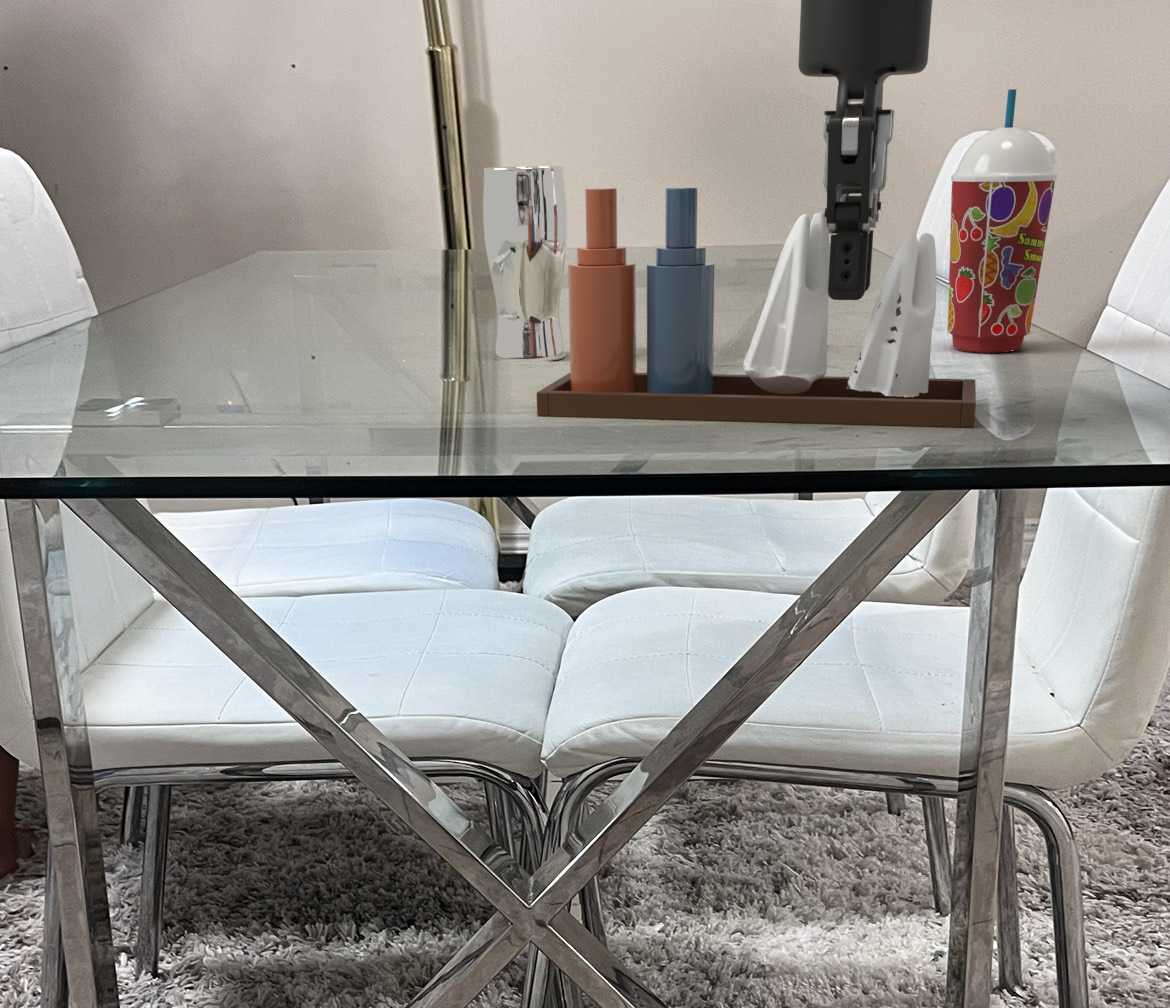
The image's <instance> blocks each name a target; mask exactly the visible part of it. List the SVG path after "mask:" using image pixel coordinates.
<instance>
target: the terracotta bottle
mask: <svg viewBox="0 0 1170 1008" xmlns="http://www.w3.org/2000/svg"><path fill="white" fill-rule="evenodd" d="M584 190H585V192H584V193H585V194H584V195H585V235H586V236H585V245H584V246H578V247H577V248H576V256H577V257H576V259H577V260H576V261H577V262H572V263H569V264H568V265H567V276H568V279H567V280H568V319H569V320H568V322H569V323H568V325H569V367H570V369H569V370H570V371H569V373H570V375H571V391H586V392H629V393H636V373H637V263H636V262H635V261H634V262H633V261H627V260H628V259H627V258H628V257H627V256H628V255H627V251H628V250H627V248H628V247H627V246H624V245H618V189H617V188H616V187H592V188H591V187H589V188H585V189H584Z"/></svg>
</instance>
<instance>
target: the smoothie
mask: <svg viewBox="0 0 1170 1008" xmlns="http://www.w3.org/2000/svg"><path fill="white" fill-rule="evenodd" d="M1016 97H1017V88H1012V89H1011V88H1010V89H1007V98H1006V99H1007V100H1006V107H1005V118H1004V127H998V128H995V129H993V130H990V131H988V132H986V133H984V134H983V135H981V136H980V137H978V138H977V139H976V140H974V142H972V144H971V145H970V146H969V147H968V148H967V150H966V151H965V153H964V154H963V155H962V157H961V160H960V161H959V163H958V166H957V168H956V171H955V172H954V173H953V174H951V175H950V181H951V191H950V192H951V198H950V203H951V204H950V229H949V230H950V232H949V233H950V235H949V236H950V237H949V271H948V305H947V306H948V307H947V333H948V334H950V335H952V336H951V337H952V347H953V348H954V349H956V350H957V351H961V352H965V353H966V352H967V353H978V354H979V353H980V354H1000V353H999V352H1004V353H1006V352H1005V351H1011V350H1017V349H1019V350H1021V349H1022V346H1023V342H1024V339H1025V337H1026V336H1027V335H1030V333H1031V327H1032V321H1033V314H1034V309H1035V304H1036V298H1037V292H1038V286H1039V279H1040V275H1041V267H1042V261H1043V257H1044V256H1043V255H1044V251H1045V244H1046V238H1047V233H1048V227H1049V221H1050V215H1051V210H1052V203H1053V199H1054V198H1053V197H1054V191H1055V184H1056V181H1057V178H1058V173H1056V172H1055V171H1054V167H1053V162H1052V160H1051V157H1050V153H1049V152H1048V149H1047V148H1046V146H1045V145H1044V143H1043V142H1042V141H1041V140H1040V139H1039V138H1038V137H1037V136H1036V135H1035V134H1033V133H1031V132H1030V131H1028V130H1026V129H1023V128H1021V127H1017V126H1016V127H1014V119H1015V111H1016V110H1015V109H1016V108H1015V107H1016V99H1017V98H1016ZM1020 348H1021V349H1020ZM1017 351H1018V350H1017Z"/></svg>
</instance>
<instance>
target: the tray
mask: <svg viewBox="0 0 1170 1008" xmlns="http://www.w3.org/2000/svg"><path fill="white" fill-rule="evenodd" d="M849 378H850V376H828V375H827V376H826V375H824V376H823V377H822V378H820V379H818V380H816V381H814V382H813V383H812V384H811V386H810V388H809V389H808V390H807V391H805V392H802V393H796V394H779V393H773V392H768V391H766V390H764V389H762V388H760V387H759V386H757V385H756V384H755V383H754V382H753V380H752V379H751V378H750V377H749V376H748V375H747V374H727V373H726V374H724V373H723V374H722V373H721V374H719V373H713V394H673V393H647V372H636V393H629V392H586V391H571V375H570V372H569V373H567V374H565V375H563V376H562V377H560V378H559V379H557V380H555V381H554V382H552V383H550V384H548V385H547V386H545V387H544V388H542V389H540V390H538V391H537V392H536V415H537V417H539V418H540V417H541V418H570V419H571V418H573V419H574V418H577V419H611V420H613V419H614V420H615V419H616V420H644V421H645V420H650V421H683V422H685V421H686V422H717V423H720V422H721V423H725V422H726V423H755V424H760V423H761V424H763V423H764V424H791V425H792V424H793V425H794V424H795V425H798V424H799V425H834V426H863V427H865V426H867V427H868V426H869V427H898V428H899V427H902V428H906V427H907V428H939V429H941V428H943V429H946V428H947V429H974V426H975V416H976V407H977V389H976V388H977V387H976V386H977V385H976V384H977V383H976V379H975V378H973V379H971V378H964V379H963V378H931V377H929V380H928V392H927V393H919V396H918V395H917V396H914V397H912V396H911V397H904V396H903V397H897V396H885V395H884V394H882V393H881V392H876V391H875V392H873V391H866V390H864V391H858V390H854V389H850V388H848V389H847V383H848V380H849Z"/></svg>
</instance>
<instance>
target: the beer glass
mask: <svg viewBox="0 0 1170 1008" xmlns="http://www.w3.org/2000/svg"><path fill="white" fill-rule="evenodd" d="M564 169H565V167H564V166H563V165H534V166H533V165H532V166H531V165H530V166H529V165H527V166H525V165H524V166H493V167H491V166H490V167H484V168H483V187H482V190H483V191H482V225H483V239H484V245H485V252H486V258H487V263H488V269H489V273H490V278H491V283H492V287H493V288H492V289H493V294H494V298H495V303H496V313H497V327H496V337H495V344H494V351H493V352H494V356H493V357H494V359H495V360H497V361H521V362H522V361H524V362H526V361H527V362H553V361H558V360H562V359H564V358H565V357H566V348H565V343H564V337H563V333H562V326H561V316H560V313H561V312H560V311H561V309H560V306H561V295H562V286H563V280H564V279H563V278H564V272H565V265H566V258H567V247H568V204H567V193H566V192H567V191H566V183H565V182H566V181H565V171H564Z"/></svg>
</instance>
